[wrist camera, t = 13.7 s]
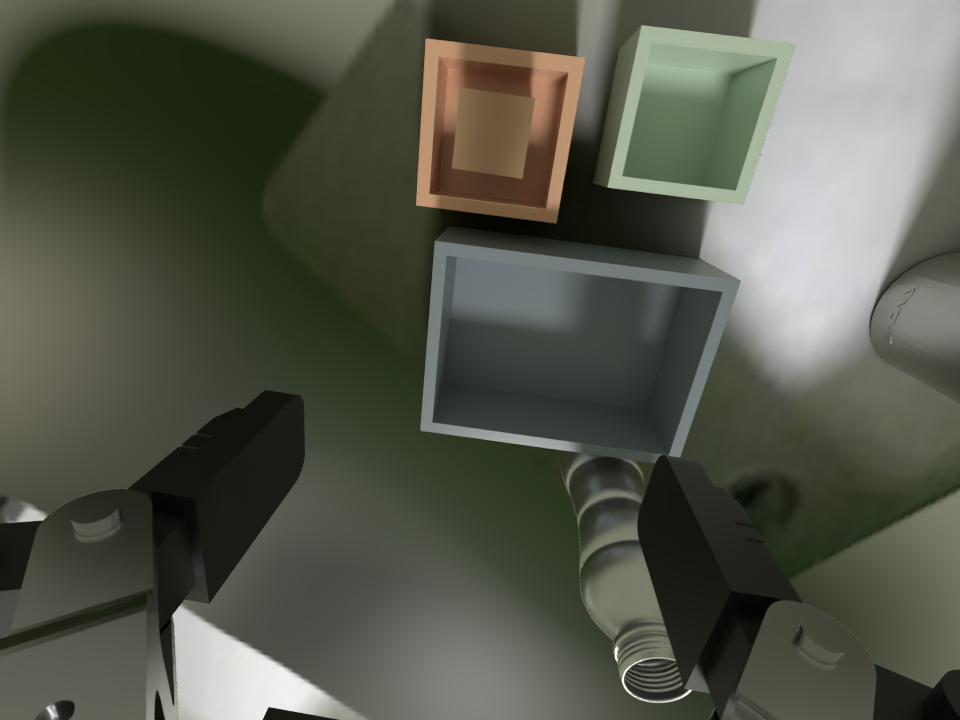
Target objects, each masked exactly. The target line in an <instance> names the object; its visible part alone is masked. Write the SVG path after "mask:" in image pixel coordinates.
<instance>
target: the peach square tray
mask: <svg viewBox="0 0 960 720" xmlns="http://www.w3.org/2000/svg"><path fill="white" fill-rule="evenodd" d="M584 63H585V58H583V57H575V56H567V55H558V54H550V53H542V52H534V51H525V50H517V49H509V48H501V47H492V46H484V45H476V44H468V43H459V42H451V41H443V40H435V39H426V45H425V62H424V80H423V97H422V114H421V131H420V148H419V166H418V183H417V200H416V205H417V206H425V207H433V208H441V209H448V210H456V211H464V212H472V213H480V214H487V215H495V216H503V217H511V218H518V219H526V220H534V221H542V222H549V223H557V217H558V211H559V206H560V200H561V194H562V189H563V183H564V177H565V171H566V166H567V160H568V154H569V149H570V143H571V137H572V131H573V126H574V120H575V114H576V109H577V103H578V97H579V92H580V86H581V80H582V74H583V69H584ZM460 87H463V88H469V89H476V90H483V91H490V92H497V93H503V94H510V95H517V96H524V97H530V98H535V103H534V109H533V116H532V122H531V128H530V134H529V140H528V147H527V153H526V159H525V165H524V171H523V178H522V179H520V178H513V177H507V176H500V175H493V174H487V173H480V172H473V171H467V170H460V169H453V168H452V162H453V152H454V143H455V133H456V124H457V114H458V104H459V95H460Z"/></svg>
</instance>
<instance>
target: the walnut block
mask: <svg viewBox="0 0 960 720" xmlns="http://www.w3.org/2000/svg"><path fill="white" fill-rule="evenodd" d="M534 103H535V98H530V97H524V96H517V95H510V94H503V93H497V92H490V91H483V90H476V89H469V88H463V87H460V95H459V104H458V114H457V124H456V133H455V143H454V152H453V162H452V168H453V169H460V170H467V171H473V172H480V173H487V174H493V175H500V176H507V177H513V178H520V179H522V178H523V171H524V165H525V159H526V153H527V147H528V140H529V134H530V128H531V122H532V116H533V109H534Z"/></svg>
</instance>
